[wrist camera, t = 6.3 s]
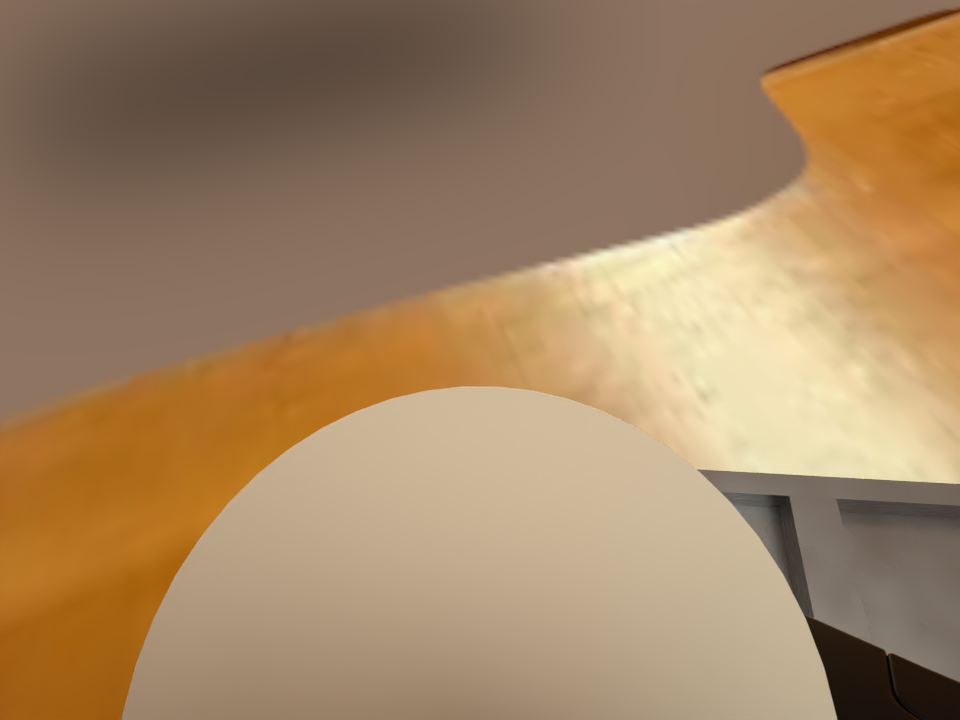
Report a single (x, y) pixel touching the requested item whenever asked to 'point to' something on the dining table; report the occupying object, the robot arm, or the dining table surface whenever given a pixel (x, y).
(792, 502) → the compartment tray
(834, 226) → the dining table surface
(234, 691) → the post
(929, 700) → the robot arm
